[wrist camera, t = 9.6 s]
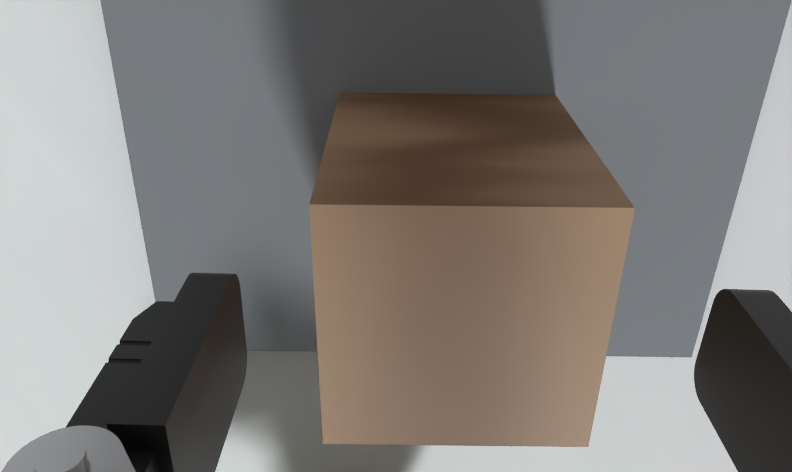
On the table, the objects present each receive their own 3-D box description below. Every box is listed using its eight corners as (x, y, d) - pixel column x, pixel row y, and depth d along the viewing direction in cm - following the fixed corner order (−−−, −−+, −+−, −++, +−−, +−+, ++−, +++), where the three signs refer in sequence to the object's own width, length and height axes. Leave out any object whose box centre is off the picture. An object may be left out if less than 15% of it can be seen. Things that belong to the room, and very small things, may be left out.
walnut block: (555, 94, 16) (635, 207, 10) (532, 278, 18) (588, 446, 13) (339, 92, 16) (309, 204, 10) (345, 276, 18) (323, 443, 13)
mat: (781, -18, 15) (795, -14, 14) (683, 344, 20) (691, 357, 19) (106, -30, 15) (95, -26, 14) (170, 336, 20) (164, 349, 19)
